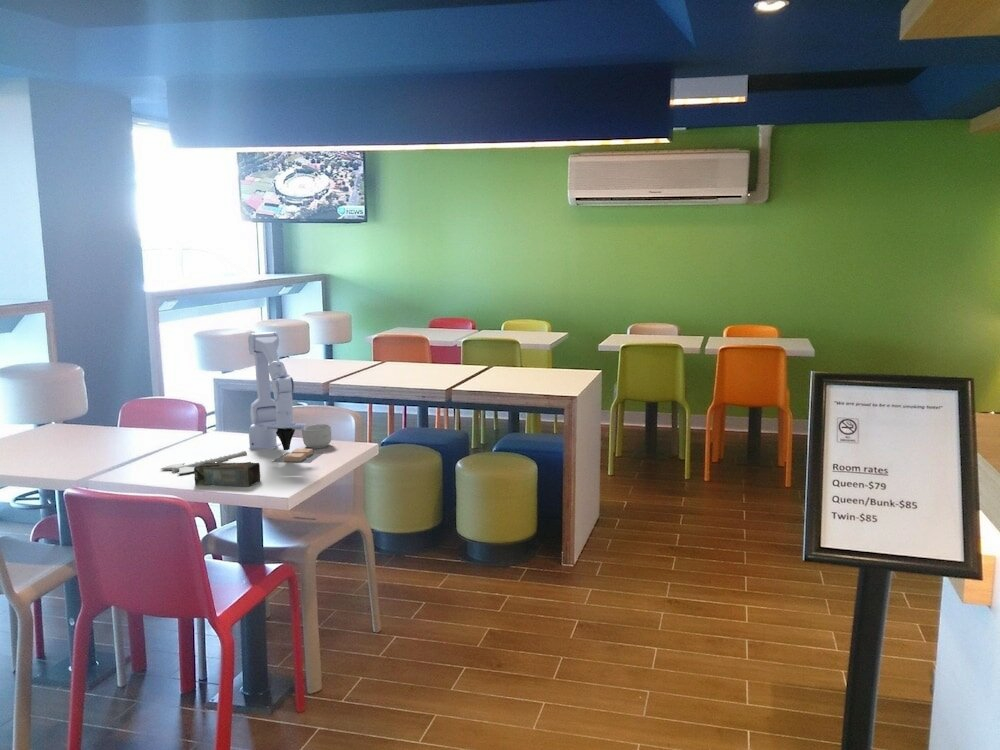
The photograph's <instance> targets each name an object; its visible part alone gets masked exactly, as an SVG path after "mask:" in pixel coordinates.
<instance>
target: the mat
mask: <svg viewBox="0 0 1000 750" xmlns="http://www.w3.org/2000/svg"><path fill="white" fill-rule="evenodd" d="M289 453H290V452H285V453H283V454H281V455H280V456H279V457H277V458H275V459H274V460H271V463H289V464H290V463H293V464H294V463H295V464H297V463H300V464H305V463H306V464H310V463H312V462H313V461H315V460H316V459H317V458H319V457H321V456H322V455H324V453H323V452H313V453H312V454H311V455H309V456H308V457H306V458H305V459H303V460H302V461H300V462H295V461H284V456H286V455H287V454H289Z"/></svg>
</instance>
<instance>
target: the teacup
mask: <svg viewBox="0 0 1000 750" xmlns="http://www.w3.org/2000/svg"><path fill="white" fill-rule="evenodd" d="M301 436H302V441H303V444H304V446H305V447H307V448H308V449H324V448H326V447H328V446H329V444H330V443H331V442H332V426H331V424H328V423H321V424H320V423H315V424H310V425H306V429H305V430H301Z"/></svg>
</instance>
